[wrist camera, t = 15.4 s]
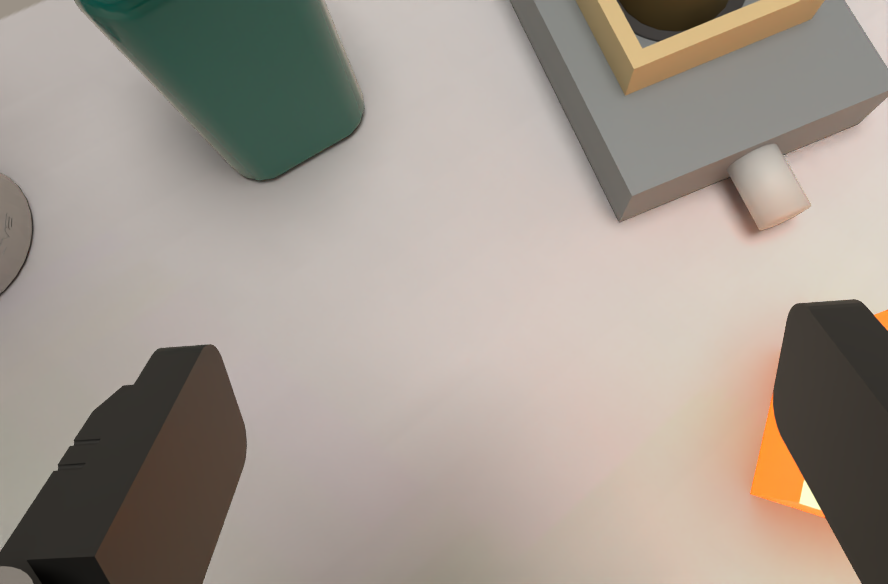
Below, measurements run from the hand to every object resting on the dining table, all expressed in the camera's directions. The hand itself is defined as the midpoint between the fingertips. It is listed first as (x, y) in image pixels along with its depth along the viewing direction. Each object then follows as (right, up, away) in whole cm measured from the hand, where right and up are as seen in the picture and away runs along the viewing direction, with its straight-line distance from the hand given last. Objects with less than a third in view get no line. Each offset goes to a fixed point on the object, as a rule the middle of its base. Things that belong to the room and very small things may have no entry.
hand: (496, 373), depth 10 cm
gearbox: (+12, +15, +30) cm, 35 cm away
